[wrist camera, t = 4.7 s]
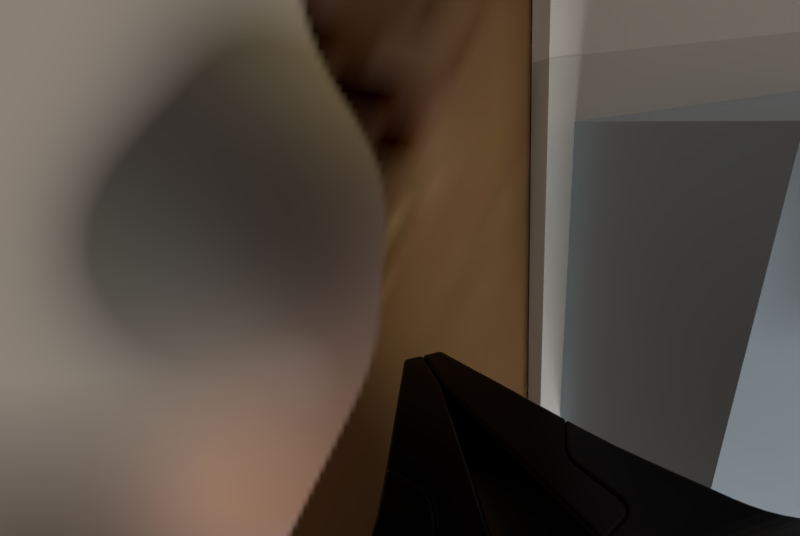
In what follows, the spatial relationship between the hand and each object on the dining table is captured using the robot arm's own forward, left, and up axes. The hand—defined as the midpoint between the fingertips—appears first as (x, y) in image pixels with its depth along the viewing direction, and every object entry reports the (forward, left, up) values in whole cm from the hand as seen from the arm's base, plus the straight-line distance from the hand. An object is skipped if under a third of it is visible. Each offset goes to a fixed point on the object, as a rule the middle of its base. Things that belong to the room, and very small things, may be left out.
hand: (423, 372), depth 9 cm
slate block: (+10, 0, -2) cm, 10 cm away
